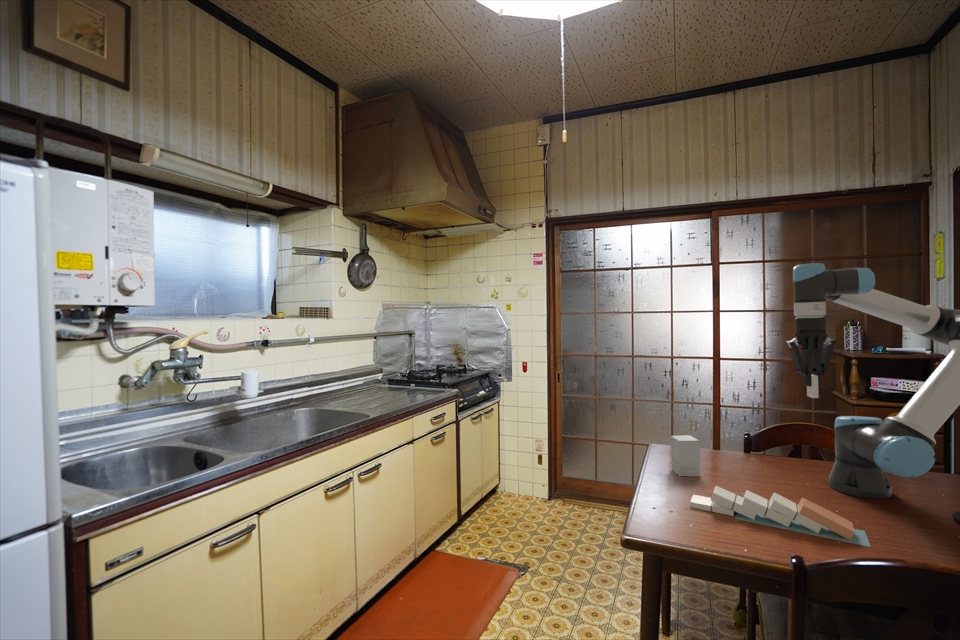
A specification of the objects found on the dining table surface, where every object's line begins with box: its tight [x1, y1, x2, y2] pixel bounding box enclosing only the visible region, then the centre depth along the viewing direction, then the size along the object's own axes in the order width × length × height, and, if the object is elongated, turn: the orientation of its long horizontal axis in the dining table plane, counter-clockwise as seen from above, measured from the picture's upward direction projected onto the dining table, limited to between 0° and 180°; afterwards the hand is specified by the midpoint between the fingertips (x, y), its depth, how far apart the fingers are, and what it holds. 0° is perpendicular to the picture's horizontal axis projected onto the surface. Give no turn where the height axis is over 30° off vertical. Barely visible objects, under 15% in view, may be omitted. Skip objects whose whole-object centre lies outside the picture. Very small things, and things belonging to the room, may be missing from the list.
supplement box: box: [670, 434, 701, 477], centre depth 157 cm, size 7×7×13 cm
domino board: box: [734, 512, 872, 548], centre depth 116 cm, size 28×9×1 cm, turn 56°
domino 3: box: [742, 489, 792, 527], centre depth 120 cm, size 2×6×11 cm
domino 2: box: [710, 485, 757, 520], centre depth 125 cm, size 2×6×11 cm
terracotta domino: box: [797, 497, 855, 540], centre depth 113 cm, size 2×6×11 cm
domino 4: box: [769, 492, 822, 533], centre depth 117 cm, size 2×6×11 cm
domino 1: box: [689, 494, 736, 517], centre depth 128 cm, size 2×6×11 cm
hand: (812, 396), depth 129 cm, fingers closed
